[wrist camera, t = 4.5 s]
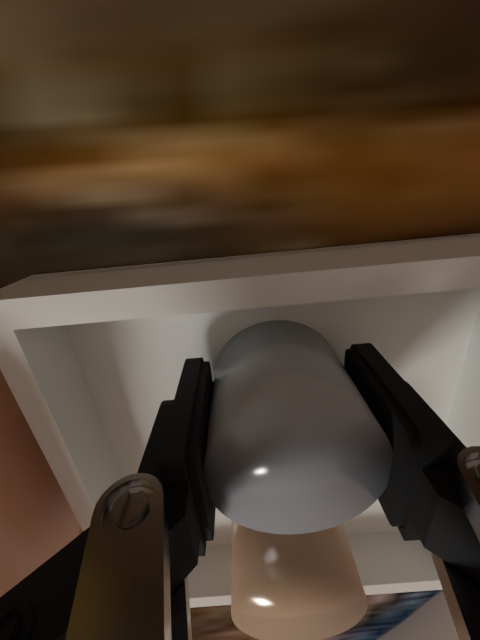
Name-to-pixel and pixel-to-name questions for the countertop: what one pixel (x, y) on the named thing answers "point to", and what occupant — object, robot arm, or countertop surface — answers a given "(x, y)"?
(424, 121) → the countertop surface
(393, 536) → the parts tray
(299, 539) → the tan pebble
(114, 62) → the countertop surface
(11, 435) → the bowl
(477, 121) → the countertop surface
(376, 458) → the slate pebble
